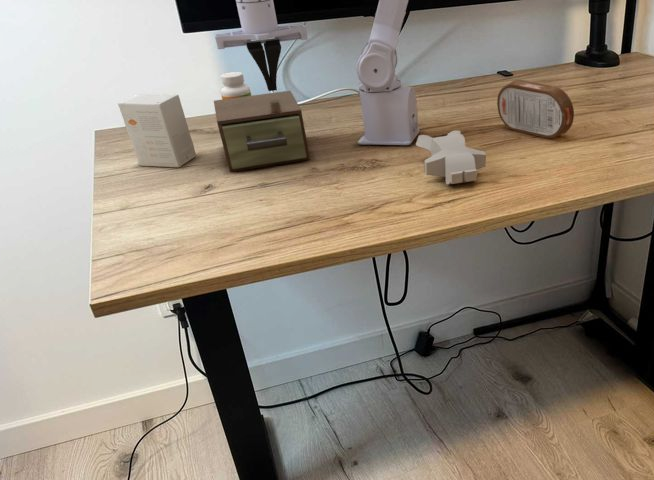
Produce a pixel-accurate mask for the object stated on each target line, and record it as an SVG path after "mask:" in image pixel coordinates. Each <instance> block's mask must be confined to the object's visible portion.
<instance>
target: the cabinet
mask: <svg viewBox="0 0 654 480" xmlns="http://www.w3.org/2000/svg"><path fill="white" fill-rule="evenodd" d="M213 106H214V113H215V119H216V123H217V127H218V132H219V134H220V139H221V140H220V141H221V143H222V148H223V151H224V155H225V159H226V163H227V166H228V171H229V172H230V173H232V172H239V171H245V170H252V169H259V168H264V167H271V166H277V165H285V164H290V163H296V162H303V161H309V160H311V158H310V157H311V156H310V151H309V146H308V141H307V135H306V129H305V124H304V117H303V111H302V109H301V107H300V105H299V104H298V101H297V100H296V98H295V96H294V95H293V93H292V91H291V90H285V91H277V92H269V93H261V94H254V95H251V96H245V97H238V98H230V99H222V98H221V99H215V100H213ZM287 115H295V116H299V118H300V123H301V129H302V134H303V140H304V146H305V151H306V158H300V159H294V160H288V161H281V162H275V163H268V164H262V165H256V166H249V167H243V168H236V169H233V168H232V164H231V160H230V156H229V152H228V148H227V144H226V140H225V136H224V132H223V128H222V126H225V124H230V123H237V122H244V121H251V120H258V119H266V118H273V117H280V116H287Z"/></svg>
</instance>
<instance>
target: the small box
mask: <svg viewBox="0 0 654 480" xmlns="http://www.w3.org/2000/svg"><path fill="white" fill-rule="evenodd" d="M117 105H118V109H119V112H120V115H121V117H122V120H123V122H124V126H125V128H126V132H127V134H128V138H129V140H130V143H131V145H132V149H133V151H134V154H135V158H136V160H137V163H138V165H139V166H140V167H158V168H159V167H162V168H181V167H182V166H183V165H185V164H186V163H188V162H190V161H191V160H193V159H194V158H196V157H197V152H196V149H195V146H194V143H193V139H192V134H191V132H190V129H189V125H188V122H187V119H186V116H185V112H184V109H183V105H182V102H181V98H180V95H179V94H157V93H156V94H155V93H154V94H153V93H151V94H148V93H147V94H146V93H138V94H136V95H133V96H131V97H129V98H127V99H125V100H122V101H119V102H118V103H117Z"/></svg>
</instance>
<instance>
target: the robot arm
mask: <svg viewBox="0 0 654 480" xmlns="http://www.w3.org/2000/svg"><path fill="white" fill-rule="evenodd" d="M235 3H236V7H237V12H238V17H239V22H240V26H241V30H237V31H236V30H235V31H229V32H224V33H217V34H214V38H215V42H216V43H215V44H216V47H217V50H224V49H226V48H227V49H228V48H234V47H244V46H245V47H246V48H247V52H248V53H249V54H250V56H251V57H252V59H253V61H254V62H255V63H256V65H257V67H258V69H259V70H260V72H261V74H262V76H263V79H264V82H265V84H266V89H267V91H268V92H275V91H278V87H277V77H278V76H277V75H278V66H279V60H280V56H281V53H282V45H281V42H287V41H296V40H297V41H298V40H301V41H304V40H308V39H309V37H308V32H307V27H306V25H304V24H299V25H281V26H280V25H278V19H277V15H276V14H277V13H276V9H275V3H274V0H235ZM408 4H409V0H378V4H377V8H376V11H375V16H374V20H373V24H372V28H371V31H370V35H369V38H368V41H367V42H366V43H365V45H364V46H363V48H362V50H361V53H360V56H359V58H358V60H357V62H356V68H355V69H356V75H357V78H358V80H359V81H360V83H359V84H358V91H359V101H360V107H361V115H362V123H363V131H364V133H363V135H362V136H361V137H360V138H359V140H358V141H357V144H358V145H373V146H374V145H376V146H377V145H379V146H410V145H411V144H412V143H413V141H414V140H415V139H416V137H417V136H418V134H419V133H420V130H421V129H420V128H419V116H418V114H419V113H418V101H417V94H416V90H415V88H414V87H413V86H406V85H403V84H402V82H401V79H400V78H399V77H398V76H397V75H396V68H397V64H398V53H397V45H398V41H399V37H400V34H401V30H402V26H403V23H404V18H405V15H406V11H407V7H408Z"/></svg>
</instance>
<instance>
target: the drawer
mask: <svg viewBox="0 0 654 480" xmlns="http://www.w3.org/2000/svg"><path fill="white" fill-rule="evenodd" d="M222 128H223V132H224V136H225V140H226V144H227V148H228V152H229V156H230V160H231V164H232V168H233V169H236V168H243V167H249V166H256V165H262V164H268V163H275V162H281V161H288V160H294V159H300V158H306V151H305V146H304V140H303V134H302V129H301V123H300V118H299V116H295V115H287V116H280V117H276V119H269V120H262V121H255V122H248V123H243V122H237V123H230V124H225V126H222Z"/></svg>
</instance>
